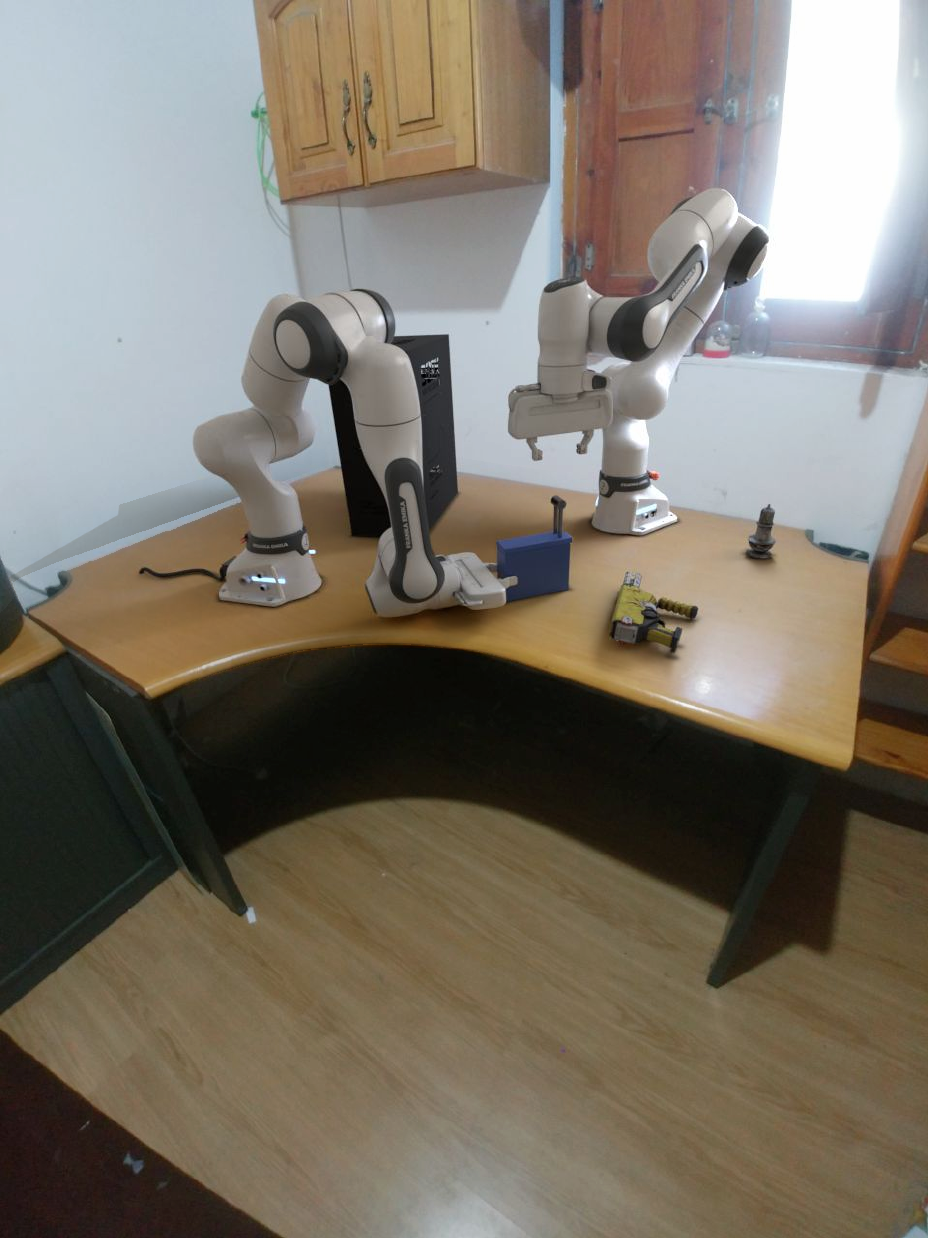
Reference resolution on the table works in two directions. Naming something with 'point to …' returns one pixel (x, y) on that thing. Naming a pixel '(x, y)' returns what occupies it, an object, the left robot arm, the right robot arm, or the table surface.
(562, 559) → the chest
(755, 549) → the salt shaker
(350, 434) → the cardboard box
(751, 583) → the table surface
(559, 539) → the lid
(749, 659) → the table surface
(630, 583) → the toy gun
